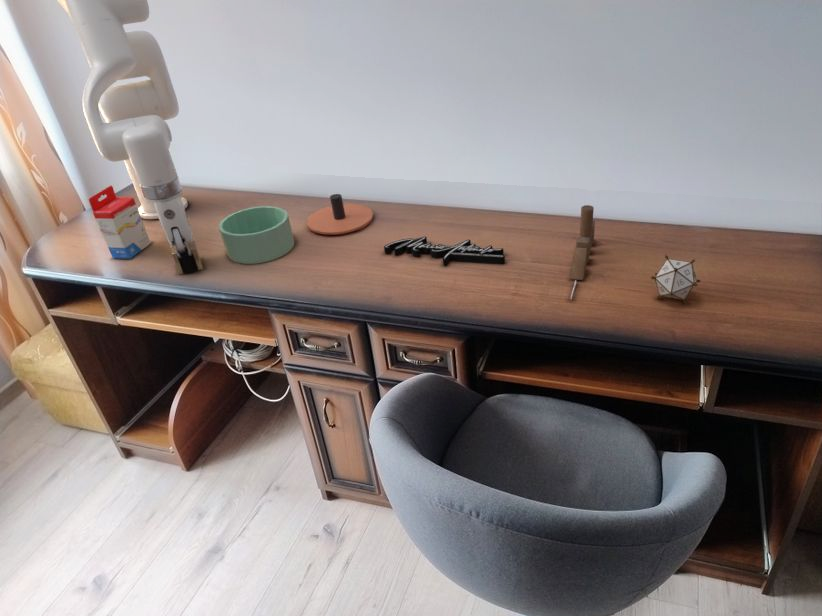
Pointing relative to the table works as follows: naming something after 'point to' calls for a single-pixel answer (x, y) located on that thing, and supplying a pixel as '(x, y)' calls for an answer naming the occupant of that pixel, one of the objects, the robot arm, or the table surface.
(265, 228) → the green round container
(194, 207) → the table surface
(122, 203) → the ink box
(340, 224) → the lid
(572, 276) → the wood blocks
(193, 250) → the block
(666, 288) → the game die
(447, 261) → the nameplate
